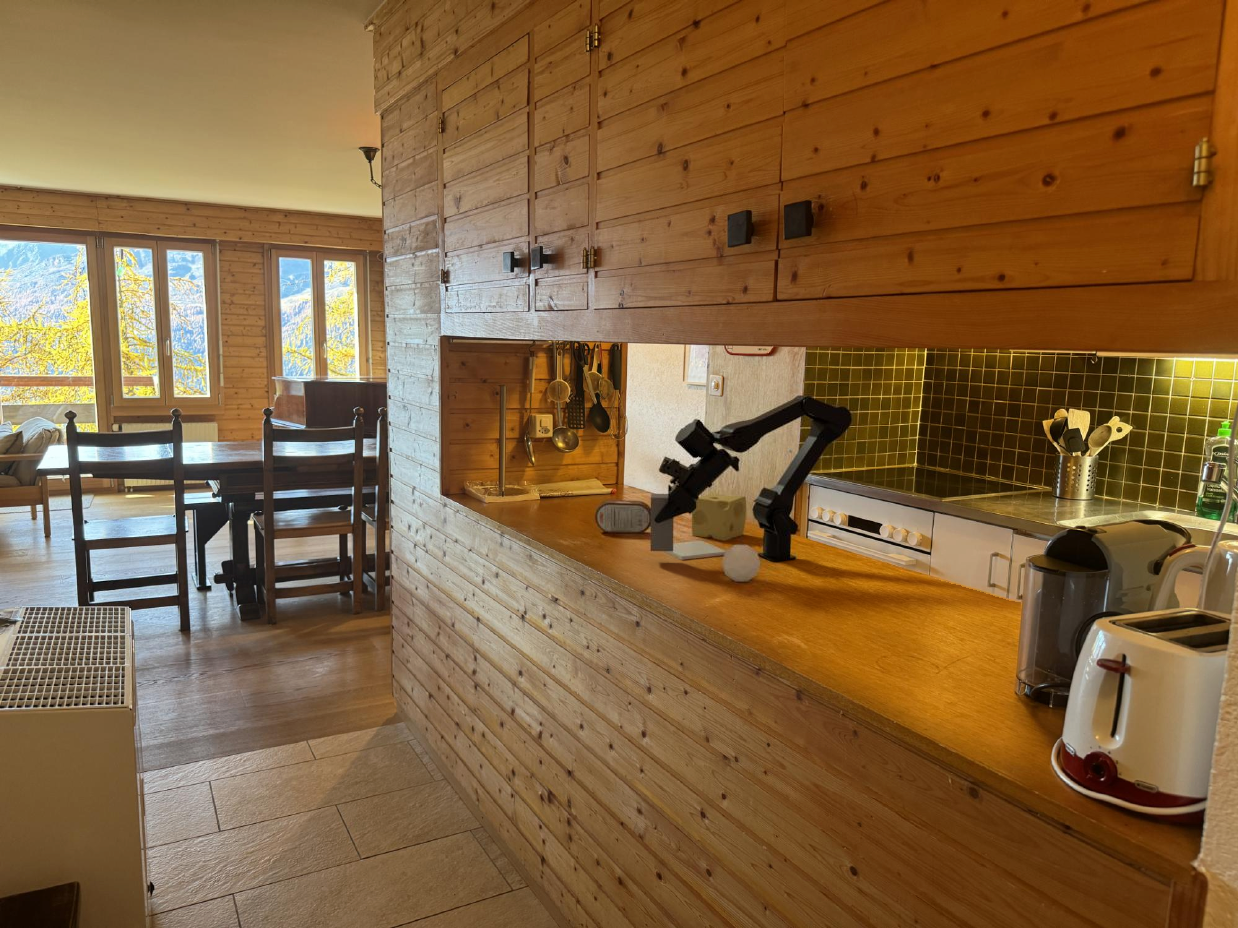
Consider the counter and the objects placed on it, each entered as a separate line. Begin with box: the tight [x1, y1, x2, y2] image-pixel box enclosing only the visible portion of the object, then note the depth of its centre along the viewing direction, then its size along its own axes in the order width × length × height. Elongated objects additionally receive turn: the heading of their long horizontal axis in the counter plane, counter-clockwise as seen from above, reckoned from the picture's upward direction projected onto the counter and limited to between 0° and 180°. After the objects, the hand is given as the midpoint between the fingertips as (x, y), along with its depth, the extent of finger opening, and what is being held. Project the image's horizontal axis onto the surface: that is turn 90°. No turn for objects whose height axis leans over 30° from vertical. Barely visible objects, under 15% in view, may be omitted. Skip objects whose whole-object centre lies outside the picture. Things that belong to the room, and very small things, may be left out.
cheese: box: [691, 493, 747, 542], centre depth 222 cm, size 10×11×10 cm
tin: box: [594, 499, 651, 535], centre depth 225 cm, size 15×3×8 cm, turn 84°
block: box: [650, 493, 675, 552], centre depth 194 cm, size 5×5×12 cm
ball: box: [721, 544, 761, 583], centre depth 180 cm, size 8×8×8 cm
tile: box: [663, 540, 726, 561], centre depth 205 cm, size 12×12×1 cm
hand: (655, 519), depth 194 cm, fingers closed on block, 5 cm apart
